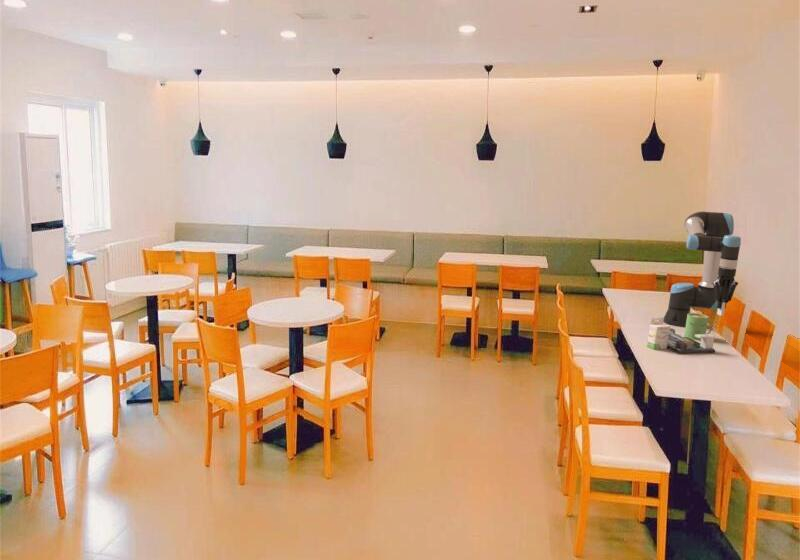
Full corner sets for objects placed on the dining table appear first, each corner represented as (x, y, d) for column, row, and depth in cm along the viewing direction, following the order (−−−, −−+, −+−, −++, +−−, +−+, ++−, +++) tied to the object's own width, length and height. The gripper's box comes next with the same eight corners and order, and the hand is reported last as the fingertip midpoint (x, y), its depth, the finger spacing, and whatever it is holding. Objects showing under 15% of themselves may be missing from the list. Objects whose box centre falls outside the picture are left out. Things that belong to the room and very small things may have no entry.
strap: (669, 332, 321) (670, 330, 320) (693, 344, 303) (693, 342, 303) (665, 332, 320) (665, 331, 320) (688, 344, 302) (689, 342, 302)
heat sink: (679, 341, 317) (680, 336, 317) (689, 346, 309) (690, 340, 309) (665, 341, 315) (666, 336, 315) (675, 346, 308) (676, 341, 307)
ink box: (654, 349, 306) (658, 320, 303) (646, 346, 310) (650, 318, 307) (667, 348, 309) (671, 319, 306) (659, 345, 313) (663, 317, 310)
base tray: (685, 339, 326) (687, 327, 325) (714, 353, 305) (716, 340, 304) (651, 340, 322) (653, 328, 320) (678, 353, 301) (680, 341, 299)
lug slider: (706, 346, 310) (708, 334, 309) (712, 348, 306) (714, 336, 305) (692, 346, 308) (694, 334, 307) (698, 348, 304) (700, 336, 303)
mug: (684, 338, 328) (688, 316, 326) (683, 333, 338) (686, 312, 335) (711, 342, 324) (714, 319, 321) (709, 336, 333) (712, 315, 331)
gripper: (733, 266, 306) (726, 312, 311) (710, 266, 303) (703, 313, 308) (744, 269, 299) (737, 316, 303) (721, 269, 296) (714, 317, 301)
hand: (720, 314), depth 306 cm, fingers closed
